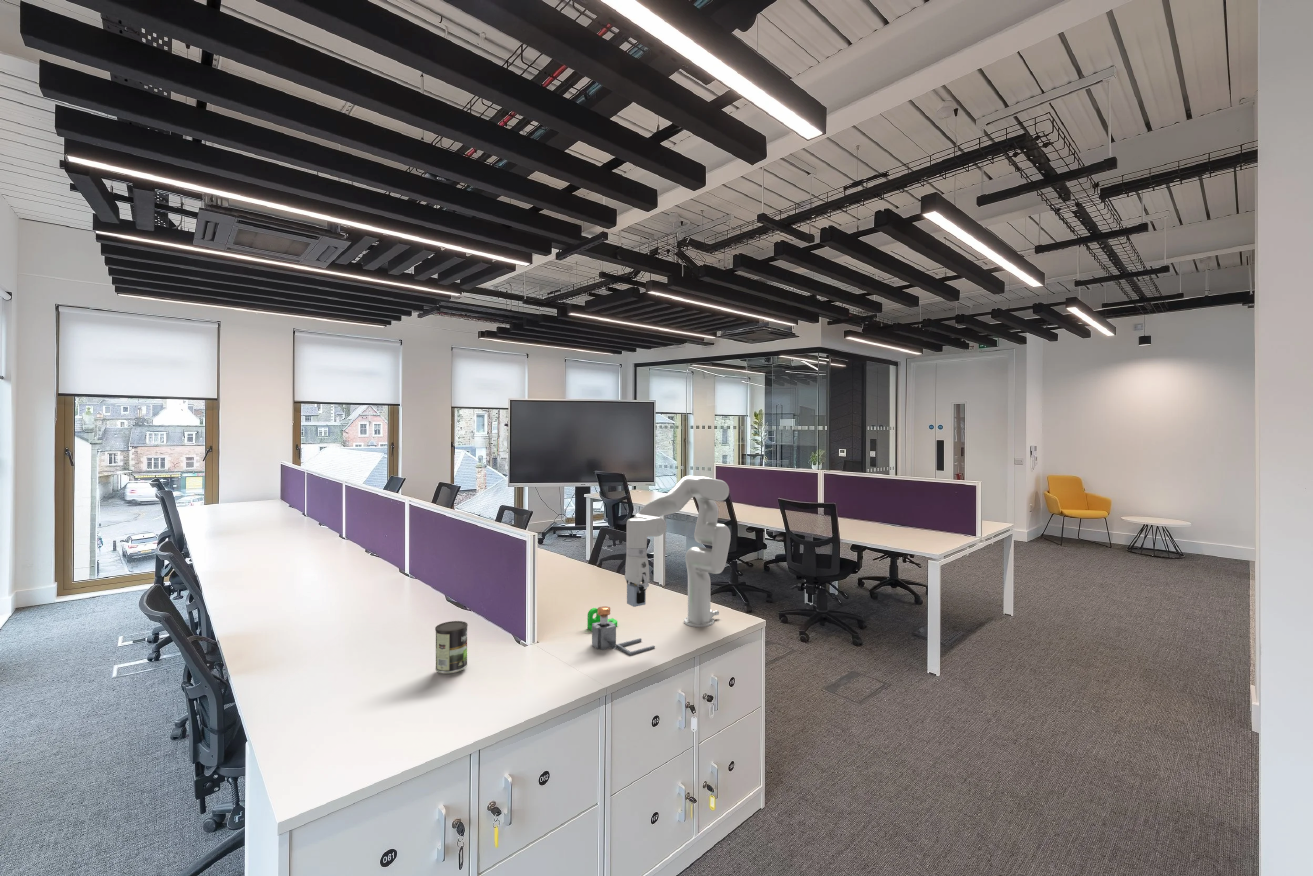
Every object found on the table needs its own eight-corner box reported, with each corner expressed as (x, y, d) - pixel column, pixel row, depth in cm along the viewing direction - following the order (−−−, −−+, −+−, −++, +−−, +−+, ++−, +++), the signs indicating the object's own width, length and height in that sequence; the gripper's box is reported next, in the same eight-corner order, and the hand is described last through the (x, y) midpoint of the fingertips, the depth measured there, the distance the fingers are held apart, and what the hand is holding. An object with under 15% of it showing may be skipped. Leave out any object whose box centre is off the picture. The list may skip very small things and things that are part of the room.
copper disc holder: (607, 640, 208) (607, 620, 208) (617, 646, 201) (617, 625, 201) (590, 644, 203) (590, 624, 203) (599, 651, 197) (600, 629, 197)
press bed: (640, 640, 207) (640, 636, 207) (658, 651, 197) (658, 646, 197) (611, 648, 200) (611, 644, 200) (628, 659, 190) (628, 654, 190)
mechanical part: (594, 632, 216) (594, 613, 216) (587, 628, 221) (587, 609, 221) (620, 626, 223) (620, 607, 223) (612, 622, 228) (612, 604, 228)
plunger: (606, 627, 206) (606, 605, 206) (612, 631, 202) (612, 608, 202) (595, 630, 203) (595, 607, 203) (601, 634, 199) (601, 611, 199)
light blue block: (638, 601, 202) (638, 578, 202) (645, 604, 198) (645, 581, 198) (626, 603, 199) (626, 580, 199) (634, 607, 195) (634, 583, 195)
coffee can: (469, 660, 189) (470, 619, 189) (464, 672, 179) (464, 630, 179) (439, 662, 187) (439, 621, 187) (431, 674, 177) (431, 632, 177)
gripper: (658, 554, 194) (657, 605, 194) (632, 547, 208) (632, 594, 208) (640, 557, 190) (640, 608, 190) (615, 549, 204) (615, 597, 204)
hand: (636, 600), depth 199 cm, fingers closed on light blue block, 5 cm apart
